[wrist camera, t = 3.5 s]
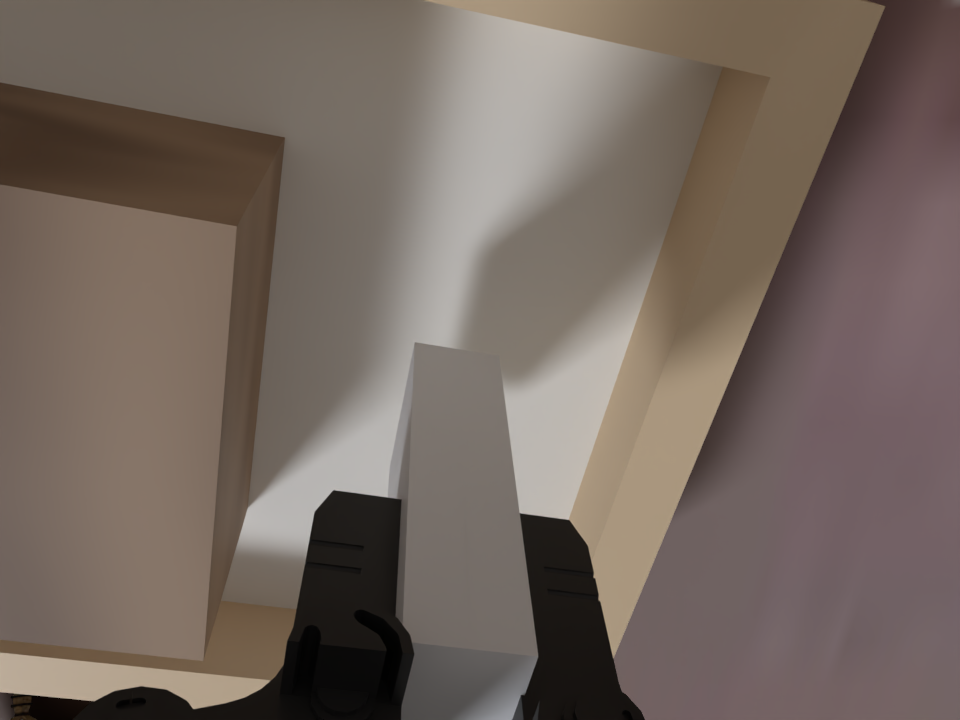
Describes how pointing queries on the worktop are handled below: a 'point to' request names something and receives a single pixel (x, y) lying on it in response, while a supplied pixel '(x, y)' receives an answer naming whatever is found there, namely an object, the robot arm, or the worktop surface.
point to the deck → (472, 247)
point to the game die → (21, 707)
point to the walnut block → (127, 367)
